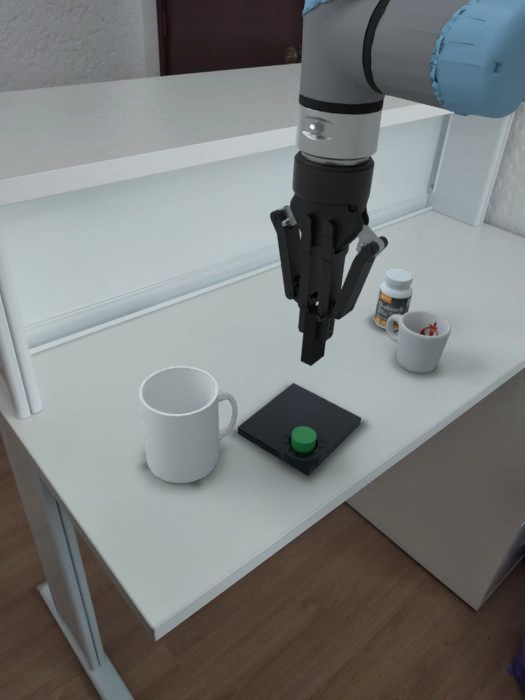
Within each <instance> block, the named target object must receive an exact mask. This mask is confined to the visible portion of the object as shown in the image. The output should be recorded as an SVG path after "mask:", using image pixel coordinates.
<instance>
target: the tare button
mask: <svg viewBox="0 0 525 700" xmlns="http://www.w3.org/2000/svg"><path fill="white" fill-rule="evenodd" d="M316 437H317V435H316V432H315V431H314V430H313V429H311V428H309V427H306V426H300V427H297V428H295V429H294V430H293V431H292V436H291V446H292V448H293V449H294V450H295V451H297V452H300V453H309V452H311V451H313V450H314V448H315V445H316Z"/></svg>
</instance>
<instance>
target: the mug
mask: <svg viewBox="0 0 525 700" xmlns="http://www.w3.org/2000/svg"><path fill="white" fill-rule="evenodd" d="M138 398H139V405H140V406H139V407H140V414H141V425H142V434H143V442H144V452H145V458H146V463H147V466H148V468H149V470H150V471H151V473H152V474H153V475H154V476H155V477H156V478H159V479H161V480H162V481H164V482H168V483H173V484H187V483H193V482H196V481H198V480H200V479H203V478H205V477H206V476H207V475H209V474H210V473H211V472H212V471H213V470H214V468H215V467H216V466H217V463H218V461H219V451H220V442H221V441H222V440H223V439H224V438H225V437H227V436H228V435H230V434H231V432H232V431H233V430H234V427H235V426H236V423H237V420H238V403H237V400H236V398H235V396H234V395H233V394H232V393H230V392H229V391H227V390H224V389H222V388H219V384H218V381H217V380H216V379H215V378H214V376H213V375H212V374H210V373H209V372H208V371H206V370H203V369H202V368H199V367H195V366H188V365H175V366H167V367H165V368H162V369H159V370H158V369H157V370H156V371H154V372H152V373H150V374H149V375H148V376H147V377H146V378H145V379H144V380H143V381H142V383H141V384H140V386H139V389H138ZM225 400H227V401H228V402H229V403H230V406H231V409H232V411H231V418H230V421H229V423H227V425H226V426H225V427H223V428H222V429H220V411H219V410H220V409H219V407H220V406H219V405H220V404H219V403H220V402H223V401H225Z"/></svg>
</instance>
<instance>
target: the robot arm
mask: <svg viewBox="0 0 525 700" xmlns="http://www.w3.org/2000/svg"><path fill="white" fill-rule="evenodd" d="M302 19H303V21H302V43H301V60H300V61H301V64H300V77H299V78H300V80H299V91H298V92H299V94H298V103H297V105H298V106H297V117H296V133H295V147H296V148H297V149H298V150H299V151H297V152H296V154H295V155H294V157H293V169H292V185H291V187H292V191H293V196H292V197H291V199H290V202H289V205H288V204H287V205H284V206H282V207H280V208H277V209H275V210H272V211H271V212H270V214H269V219H270V221H271V224H272V226H273V229H274V232H275V233H276V238H277V246H278V253H279V261H280V267H281V275H282V282H283V289H284V296H285V297H286V299H287V300H290V301H292V300H293V301H294V302H296V303H297V306H298V309H299V312H298V323H297V329H298V332H300V333H301V334H302V341H301V353H300V362H301V363H303V364H306V365H308V366H310V367H312V366H314V365H315V364H316V363H317V362H318V361H320V360H321V359H322V358H323V357H325V352H326V346H327V345H326V344H327V341H328V340H330V339H331V338H332V337H333V336H334V330H335V323H336V321H339V320H341V319H343V318H344V317H345V316H347V315H348V314H350V313H351V312H352V311H353V310H354V309H355V307H356V304H357V302H358V299H359V297H360V295H361V292H362V290H363V288H364V286H365V284H366V281H367V279H368V277H369V274H370V272H371V270H372V267H373V265H374V263H375V261H376V258H377V257H378V256H379V255H380V254H381V253H382V252H383V251H384V250H385V249H386V248H388V245H389V240H388V238H387V237H386V236H383V235H379V236H378V235H377V234H376V233H375V231H373V229H371V227H370V226H369V224H370V217H369V213H368V207H367V206H368V202H369V199H370V195H371V190H372V183H373V176H374V170H375V164H376V163H375V161H374V159H373V157H372V156H374V155H375V154H376V153H377V151H378V145H379V138H380V129H381V122H382V115H383V108H384V104H385V103H384V102H385V98H386V96H389V97H394V98H396V99H400V100H401V99H402V100H405V101H409V102H413V103H418V104H421V105H426V106H430V107H433V108H437V109H442V110H445V111H448V112H450V113H454V114H455V115H457V116H463V117H467V116H477V117H482V118H488V119H502V118H506V117H508V116H511V115H512V114H513V113H515V112H516V111H517V110H518V109H519V108H520V106H521V104H522V103H523V102H525V0H304V8H303V10H302ZM357 238H358V242H357V245H356V248H355V251H356V252H357V254H356V255H355V256H354V258H353V259H352V262H351V264H350V267H349V269H348V272H347V274H346V277H345V279H344V281H343V278H344V271H345V263H346V256H347V255H348V253H349V250H350V244H352V242H354V241H355V240H356V239H357ZM317 303H318V304H317Z"/></svg>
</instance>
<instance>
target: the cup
mask: <svg viewBox="0 0 525 700" xmlns="http://www.w3.org/2000/svg"><path fill="white" fill-rule="evenodd" d="M394 321H396V322H397V323H398V325H399V330H398V334H397V333H396V332H395V330H393V322H394ZM385 331H386V335H387V336H388V338H389V339H390V340H392V341H393V342H394V343H397V344H396V359H397V362H398V363H399V365H400V366H401V367H402V368H404V369H405V370H406V371H409V372H411V373H417V374H426V373H430V372H431V371H433V370H434V369H436V368H437V366H438V365H439V362H440V359H441V357H442V354H443V352H444V350H445V348H446V345H447V343H448V341H449V338H450V335H451V333H452V326H451V323H450V322H449V321H448V319H446V317H443V316H442V315H441V314H438V313H435V312H432V311H428V310H422V309H421V310H420V309H419V310H418V309H417V310H410V311H408V312H407V313H405V314H404V315H398V314H395V315H392V316H390V317H389V318H388V320H387V323H386V329H385Z"/></svg>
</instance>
